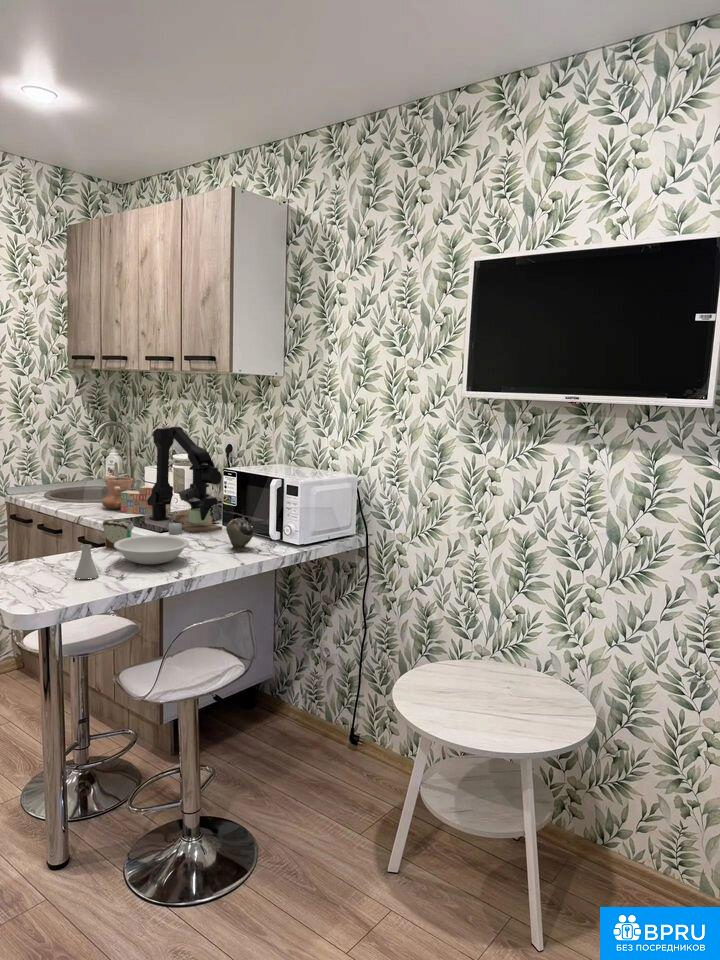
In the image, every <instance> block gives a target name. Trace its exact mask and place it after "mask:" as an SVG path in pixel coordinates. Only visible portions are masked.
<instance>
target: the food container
mask: <svg viewBox="0 0 720 960" xmlns="http://www.w3.org/2000/svg"><path fill="white" fill-rule="evenodd" d="M102 521H103V522H102V525H101V526H102V527H103V531H104V532H103V533H104V543H105V544H104V545H105V549H107V550H108V549H109V550H113V549H116V548H115V547H114V544H115V542H117V541H119V540H122V539H125V538H130V537H132V531H133V529H135V526H134V523H133V521H132V520H129V519H124V518H123V519H121V518H116V519H113V518H112V519H105V520H102Z"/></svg>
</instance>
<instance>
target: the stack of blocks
mask: <svg viewBox="0 0 720 960" xmlns="http://www.w3.org/2000/svg"><path fill="white" fill-rule="evenodd" d="M153 486H154V485H148V484H146V485H142V486H140V487H139V491H138V490H130V491H124V492H121V493H120V494H121V510H120V513H125V514H126V513H127V514H136V515H147V516H148V515H150V516H152V506H150V505H148V503H147V500H148V498H149V497H150V496H151V494H152V488H153ZM171 504H172V503H171ZM171 504H168V505H166V516H168V515H170V514H171V511H172V510H171V506H172V505H171Z"/></svg>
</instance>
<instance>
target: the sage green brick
mask: <svg viewBox="0 0 720 960" xmlns="http://www.w3.org/2000/svg"><path fill="white" fill-rule="evenodd" d="M188 511H189V521H188V522H189V523H191V524H193V523H194V524H195V523H204V522H210V517H211V509H210V510H209V512H208V514H207V515H206V517H205V519H204V520H201V512H200V508H198V509H192V508H191V509H190V508H189V509H188Z"/></svg>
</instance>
